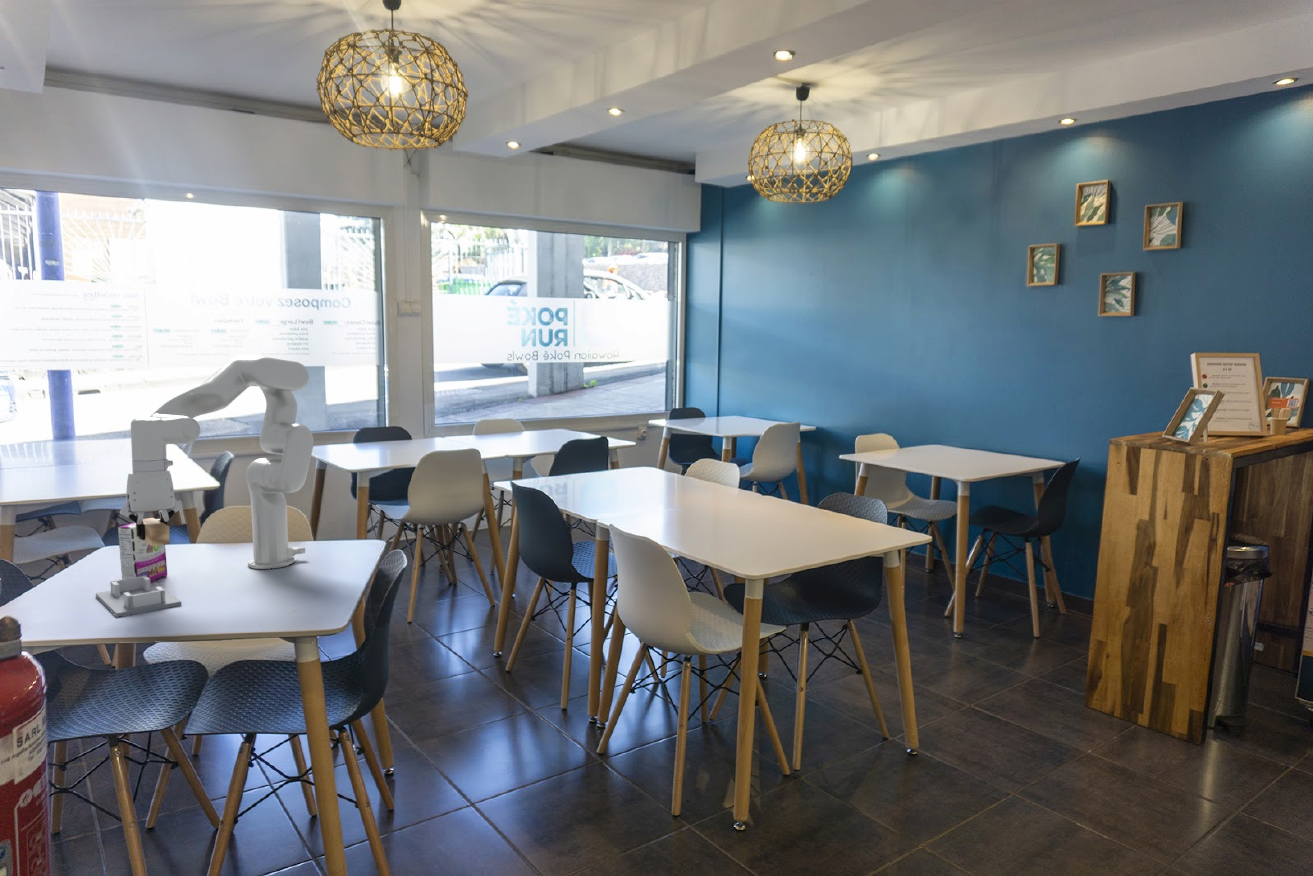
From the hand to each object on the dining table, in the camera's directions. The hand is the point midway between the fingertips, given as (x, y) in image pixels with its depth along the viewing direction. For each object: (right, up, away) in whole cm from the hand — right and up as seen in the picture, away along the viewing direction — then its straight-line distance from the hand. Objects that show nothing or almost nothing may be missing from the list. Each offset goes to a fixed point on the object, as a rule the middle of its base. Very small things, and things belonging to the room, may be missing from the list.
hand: (152, 537), depth 218 cm
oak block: (0, -1, 0) cm, 1 cm away
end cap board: (-3, -16, -1) cm, 17 cm away
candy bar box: (-12, -14, +17) cm, 25 cm away
